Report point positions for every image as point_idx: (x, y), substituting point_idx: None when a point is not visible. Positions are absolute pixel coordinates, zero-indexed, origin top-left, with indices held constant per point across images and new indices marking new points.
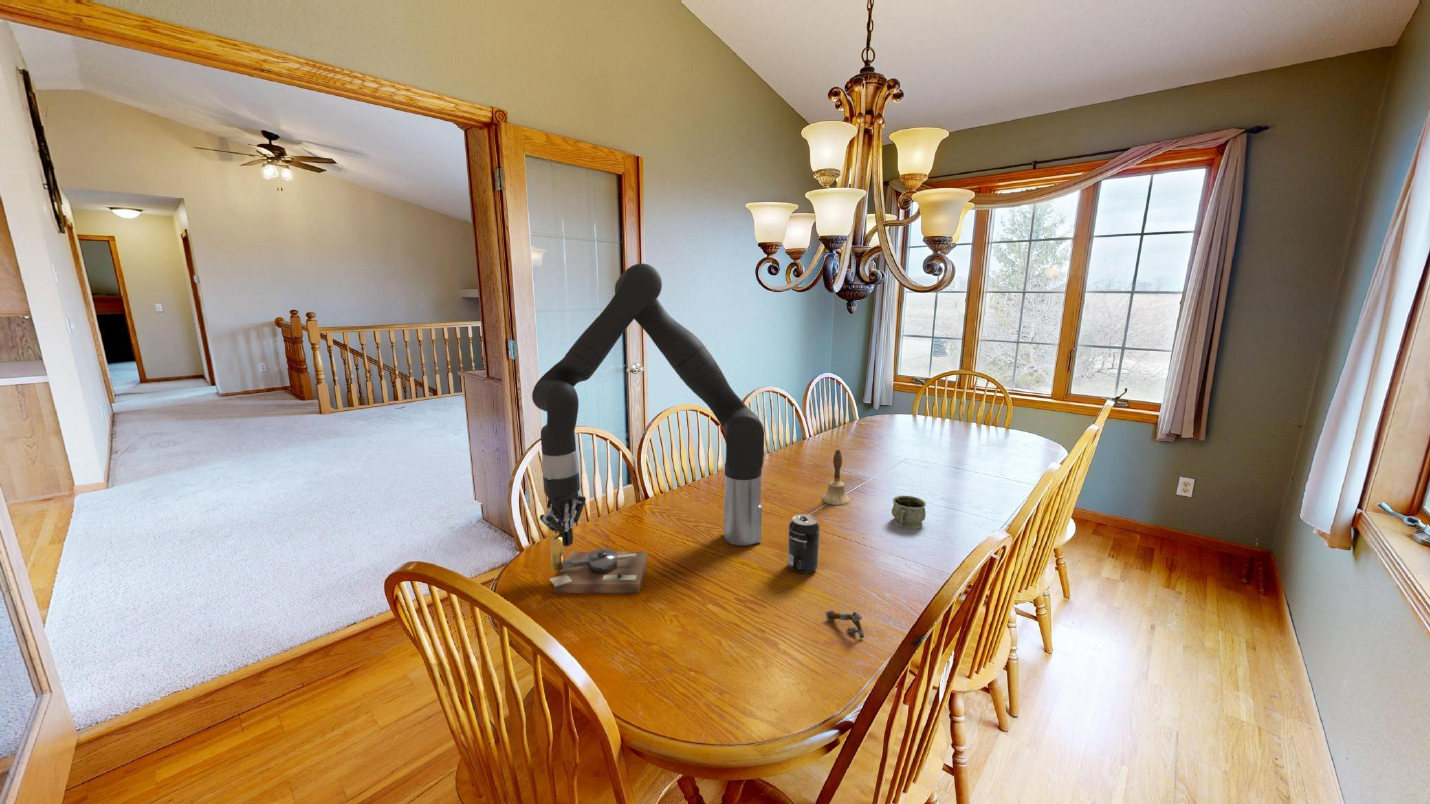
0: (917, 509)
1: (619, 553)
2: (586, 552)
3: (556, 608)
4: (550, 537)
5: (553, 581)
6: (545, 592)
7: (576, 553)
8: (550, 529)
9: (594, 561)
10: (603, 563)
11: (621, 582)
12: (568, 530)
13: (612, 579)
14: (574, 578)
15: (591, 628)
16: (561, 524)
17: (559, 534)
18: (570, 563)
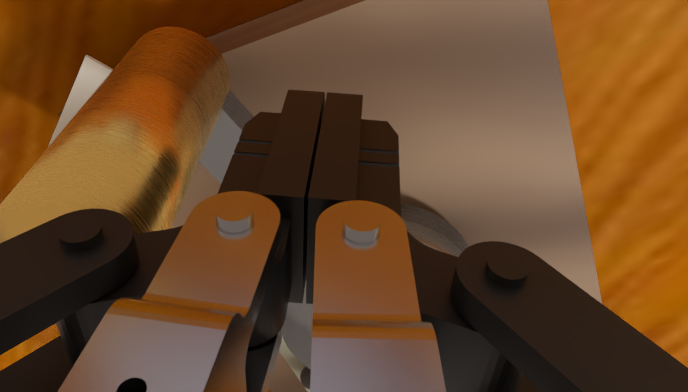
0: None
1: (569, 277)
2: (545, 82)
3: (2, 180)
4: (16, 209)
5: (79, 102)
6: (58, 31)
7: (513, 11)
8: (26, 232)
9: (288, 324)
10: (303, 357)
11: (279, 384)
12: (295, 294)
13: (281, 351)
14: (190, 194)
15: (19, 350)
16: (267, 274)
17: (220, 191)
18: (220, 181)
